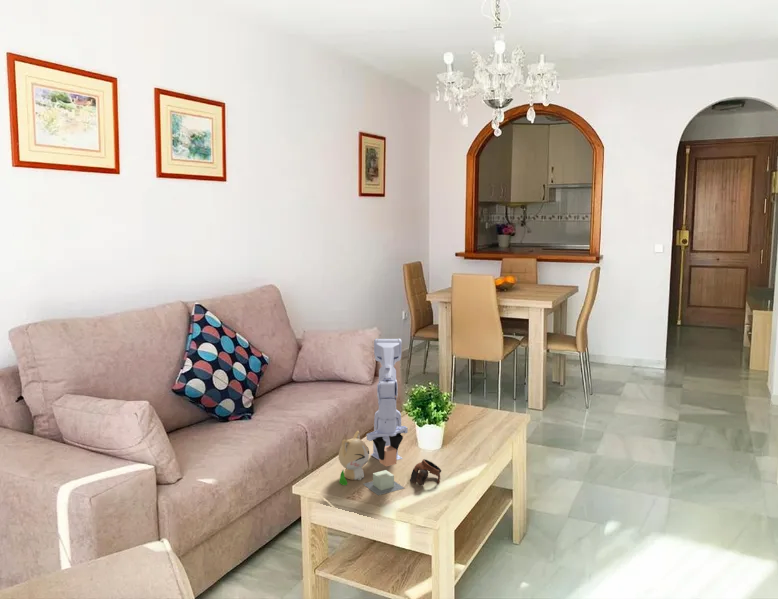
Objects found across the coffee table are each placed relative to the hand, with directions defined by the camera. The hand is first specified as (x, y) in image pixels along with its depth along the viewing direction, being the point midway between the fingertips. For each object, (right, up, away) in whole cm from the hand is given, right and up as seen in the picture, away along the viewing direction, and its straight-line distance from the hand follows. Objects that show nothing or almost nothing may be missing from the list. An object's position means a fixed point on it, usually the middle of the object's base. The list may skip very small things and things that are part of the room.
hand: (387, 457), depth 212 cm
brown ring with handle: (+12, -10, +3) cm, 16 cm away
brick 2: (-1, -9, 0) cm, 9 cm away
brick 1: (0, -2, 0) cm, 2 cm away
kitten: (-11, -9, +7) cm, 16 cm away
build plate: (-1, -10, 0) cm, 10 cm away
